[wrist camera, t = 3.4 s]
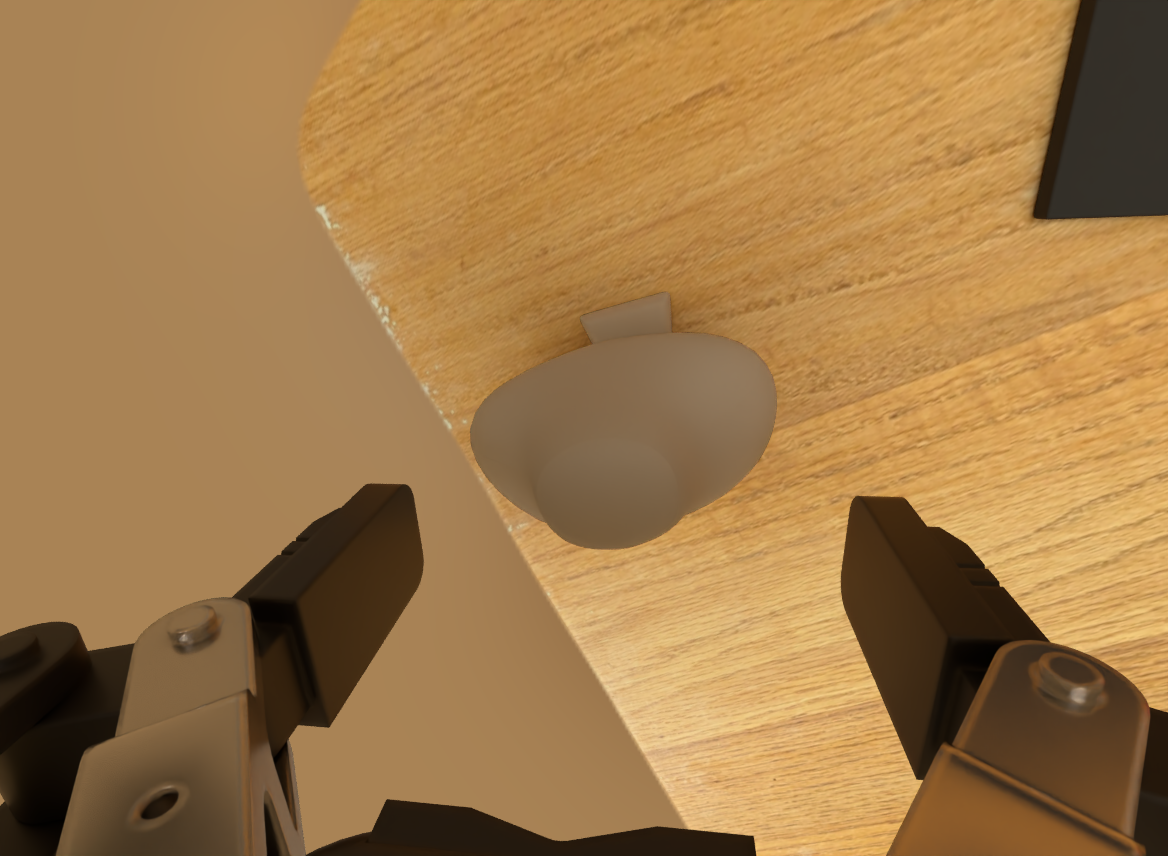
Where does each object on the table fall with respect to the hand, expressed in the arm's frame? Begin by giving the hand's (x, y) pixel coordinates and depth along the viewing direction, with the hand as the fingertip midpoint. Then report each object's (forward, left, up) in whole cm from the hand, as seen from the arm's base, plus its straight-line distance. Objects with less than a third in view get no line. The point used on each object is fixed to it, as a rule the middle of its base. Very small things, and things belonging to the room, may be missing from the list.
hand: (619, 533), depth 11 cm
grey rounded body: (0, 0, -12) cm, 12 cm away
